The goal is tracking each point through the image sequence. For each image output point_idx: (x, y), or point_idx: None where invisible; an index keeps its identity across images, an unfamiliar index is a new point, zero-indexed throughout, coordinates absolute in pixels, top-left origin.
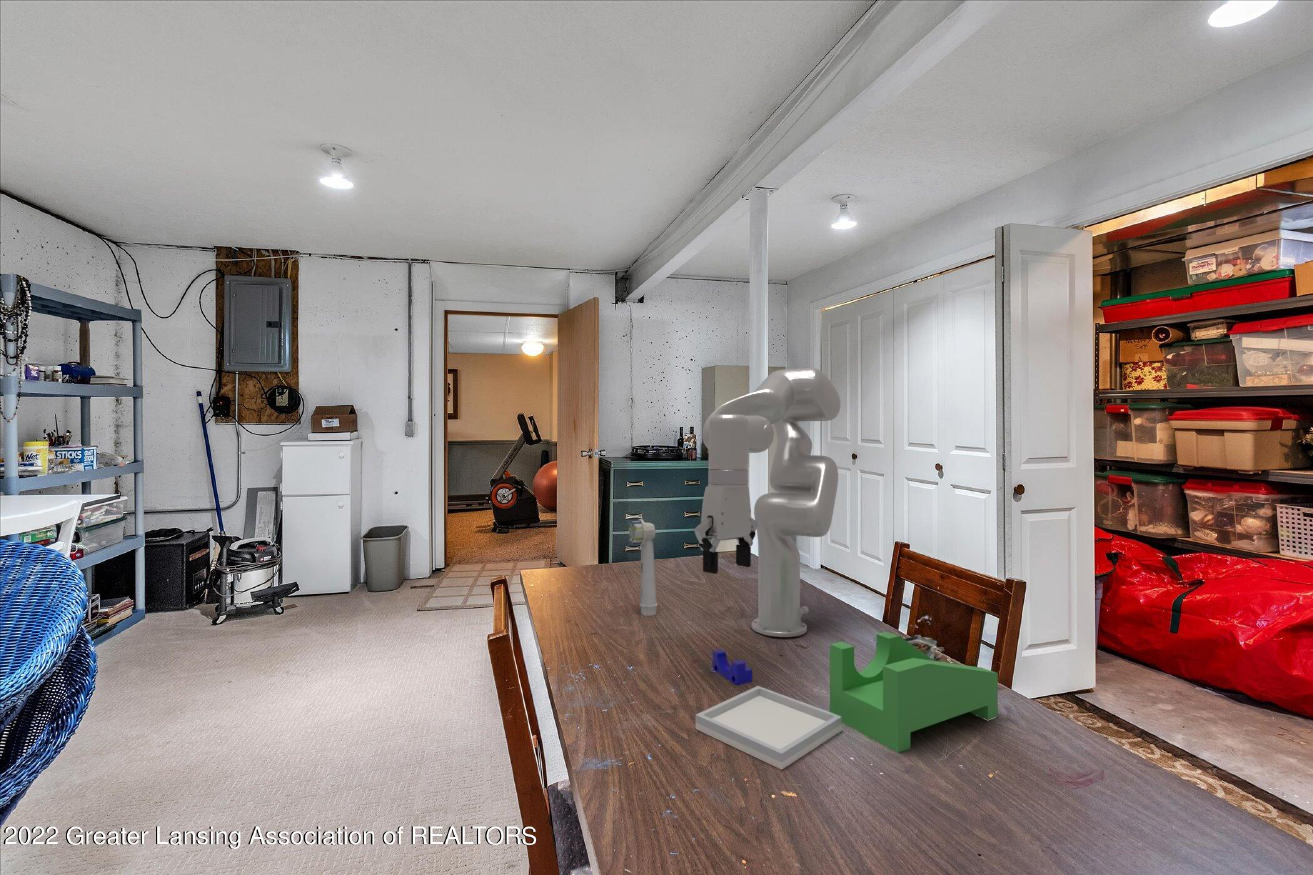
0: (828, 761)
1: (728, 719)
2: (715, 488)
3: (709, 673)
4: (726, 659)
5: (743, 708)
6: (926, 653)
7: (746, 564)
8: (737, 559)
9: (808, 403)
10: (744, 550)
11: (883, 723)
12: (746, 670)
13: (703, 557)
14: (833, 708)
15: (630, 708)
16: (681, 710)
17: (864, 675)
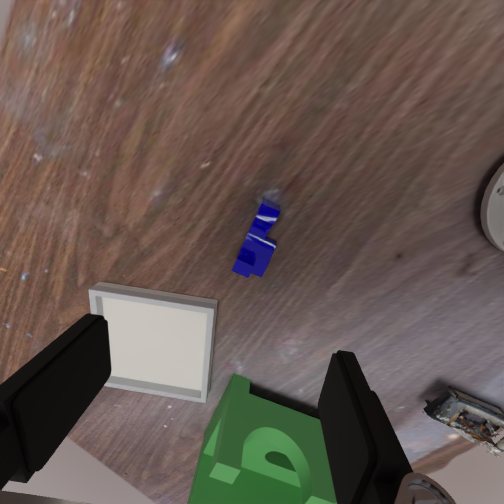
0: (150, 395)
1: (129, 309)
2: None
3: (247, 201)
4: (271, 224)
5: (165, 309)
6: (480, 433)
7: (320, 407)
8: (337, 379)
9: None
10: (340, 475)
11: (205, 440)
12: (252, 272)
13: (33, 361)
14: (230, 385)
15: (69, 183)
16: (119, 242)
17: (266, 435)
